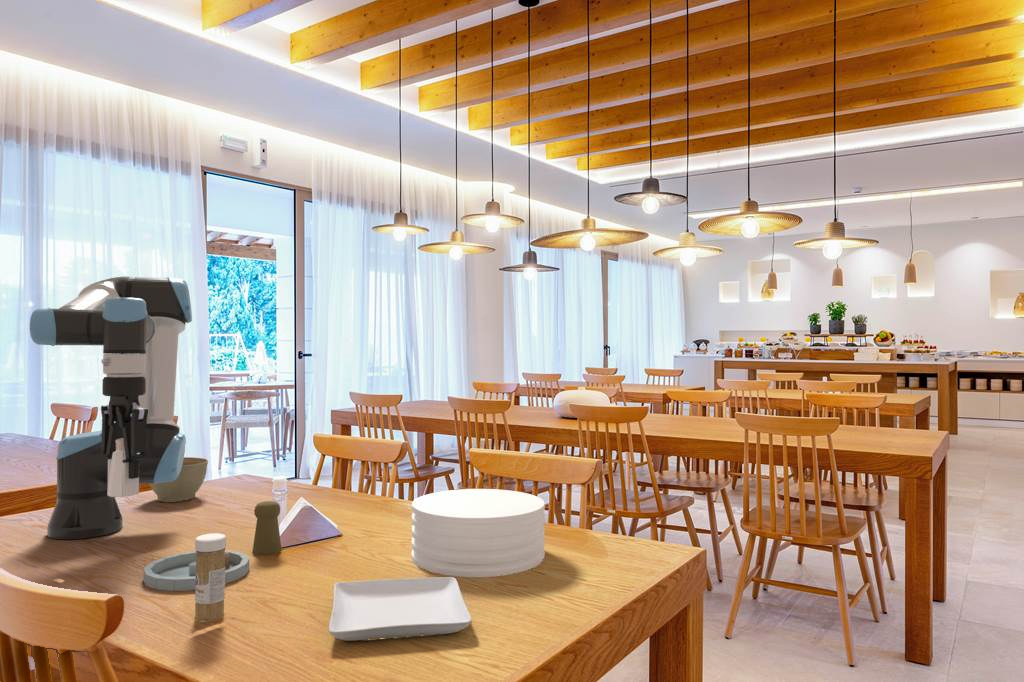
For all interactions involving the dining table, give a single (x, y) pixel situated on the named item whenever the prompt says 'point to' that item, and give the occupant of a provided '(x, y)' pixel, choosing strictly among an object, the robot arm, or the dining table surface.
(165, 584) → the groove tray
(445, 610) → the salad plate
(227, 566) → the bead walnut
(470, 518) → the plate stack
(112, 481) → the pepper shaker
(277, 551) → the pepper shaker
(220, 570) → the sprinkles bottle
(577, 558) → the dining table surface
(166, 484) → the planter bowl
